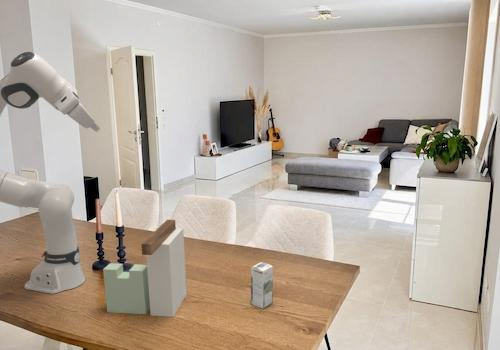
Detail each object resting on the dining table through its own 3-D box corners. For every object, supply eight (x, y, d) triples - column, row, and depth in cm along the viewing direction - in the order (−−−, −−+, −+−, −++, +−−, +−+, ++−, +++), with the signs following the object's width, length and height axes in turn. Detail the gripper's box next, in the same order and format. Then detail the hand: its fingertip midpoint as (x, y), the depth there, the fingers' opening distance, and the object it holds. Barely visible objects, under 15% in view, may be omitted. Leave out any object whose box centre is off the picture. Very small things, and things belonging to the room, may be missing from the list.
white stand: (150, 315, 144) (145, 243, 139) (166, 293, 159) (162, 227, 154) (173, 316, 143) (168, 244, 137) (186, 294, 158) (183, 228, 153)
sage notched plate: (107, 312, 147) (103, 269, 143) (113, 304, 151) (109, 263, 148) (145, 314, 145) (142, 271, 141) (150, 306, 150) (147, 264, 146)
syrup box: (260, 298, 154) (260, 261, 151) (273, 303, 151) (273, 265, 148) (250, 304, 150) (250, 266, 147) (263, 309, 146) (263, 270, 143)
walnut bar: (142, 254, 129) (141, 244, 129) (167, 228, 153) (167, 219, 152) (151, 255, 129) (150, 244, 128) (175, 229, 152) (175, 219, 152)
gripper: (48, 93, 139) (79, 120, 149) (61, 113, 125) (95, 142, 134) (63, 80, 140) (92, 108, 150) (77, 99, 125) (109, 128, 135)
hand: (94, 124), depth 142 cm, fingers open, 8 cm apart
